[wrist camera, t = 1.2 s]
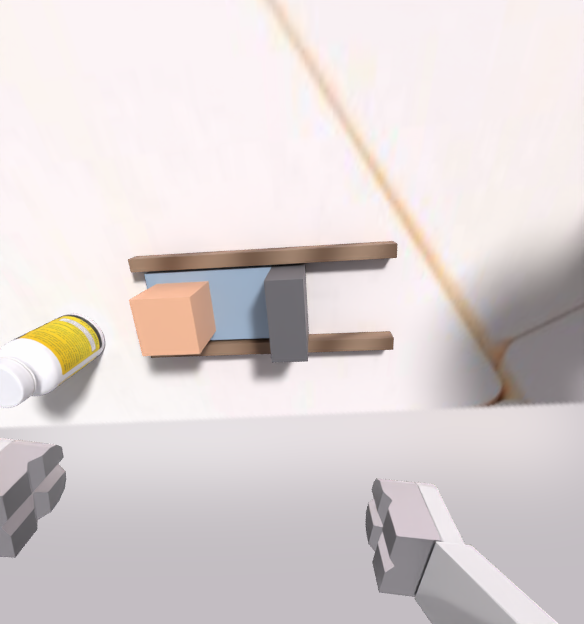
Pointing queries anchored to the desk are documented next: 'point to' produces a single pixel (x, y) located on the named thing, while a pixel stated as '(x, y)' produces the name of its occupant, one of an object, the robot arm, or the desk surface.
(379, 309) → the desk surface
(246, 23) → the desk surface
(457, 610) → the robot arm
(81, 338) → the supplement bottle
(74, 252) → the desk surface
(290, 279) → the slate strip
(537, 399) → the desk surface
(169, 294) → the terracotta cube
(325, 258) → the guide rails
